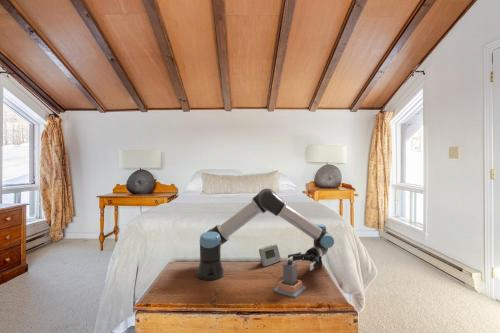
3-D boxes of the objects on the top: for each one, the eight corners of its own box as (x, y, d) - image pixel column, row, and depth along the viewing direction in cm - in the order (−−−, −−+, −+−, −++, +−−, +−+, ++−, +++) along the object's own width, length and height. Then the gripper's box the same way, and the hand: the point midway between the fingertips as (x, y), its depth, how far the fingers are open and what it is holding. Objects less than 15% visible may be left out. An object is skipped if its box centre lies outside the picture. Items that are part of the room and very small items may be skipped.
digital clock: (263, 267, 168) (262, 250, 168) (255, 263, 175) (255, 246, 175) (284, 262, 176) (284, 246, 176) (276, 258, 184) (275, 242, 184)
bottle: (283, 288, 137) (283, 260, 137) (287, 284, 142) (287, 257, 141) (292, 291, 135) (292, 262, 134) (296, 287, 139) (296, 259, 139)
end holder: (273, 291, 137) (273, 283, 137) (285, 282, 146) (285, 275, 146) (295, 297, 130) (295, 289, 130) (306, 288, 140) (306, 280, 139)
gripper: (334, 264, 156) (321, 277, 139) (294, 256, 170) (277, 267, 153) (334, 251, 156) (321, 262, 139) (294, 244, 170) (277, 253, 153)
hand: (298, 265), depth 146 cm, fingers open, 13 cm apart
